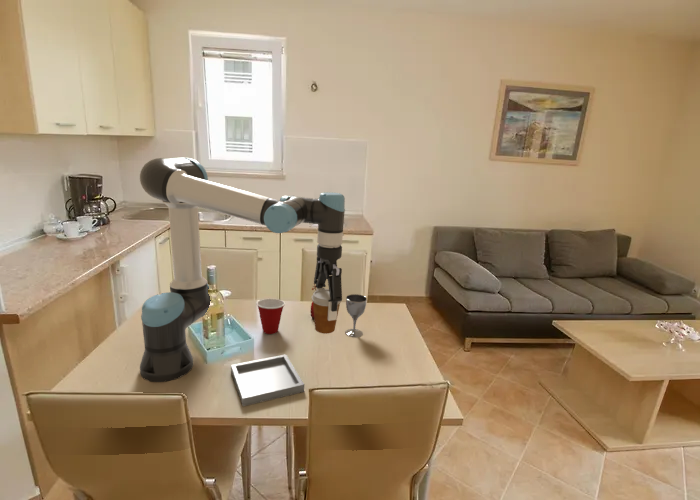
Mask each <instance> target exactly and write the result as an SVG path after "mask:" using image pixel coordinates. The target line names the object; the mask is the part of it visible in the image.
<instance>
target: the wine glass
mask: <svg viewBox="0 0 700 500" xmlns="http://www.w3.org/2000/svg"><path fill="white" fill-rule="evenodd" d="M345 298H346V299H345V306H346V307H345V308H346V312H347V313H348V315H349V316H350V317H351V318H352V323H353V327H352V328H350V329H346V330H345V331H344V332H345V335H346V336H347V337H350V338H360V337H362V336H363V335H364V332H363V331H362V330H360V329H357V328H356V325H357V321H358V319H359V318H360V317H362V315H363V314H364V313H365V310H366V307H367V302H368V299H367V297H366V296H365V295H362V294H360V293H352V294H348V295H347V296H346V297H345Z"/></svg>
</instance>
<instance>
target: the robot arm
mask: <svg viewBox="0 0 700 500" xmlns="http://www.w3.org/2000/svg"><path fill="white" fill-rule="evenodd" d="M208 177H209V176H208V173H207V171H206V169H205V167H204V166H203V165H202V164H201V163H200V162H199V161H198V160H196V159H193V158H191V157H183V156H179V157H160V158H159V157H158V158H153V159H150V160H149V161H147V162H146V163H145V164H144V165H143V166H142V168H141V170H140V174H139V182H140V185H141V187H142V189H143V190H144V191H145V193H147V194H148V195H149V196H151V197H152V198H154V199H156V200H160V201H162V203H163V204H164V205H165V206H167V208H168V217H169V218H168V219H169V229H170V230H169V231H170V241H171V253H172V254H171V255H172V267H173V269H172V270H173V279H172V281H171V282H169V290H170V291H168V292H161V293H160V294H155V295H152V296H150V297H149V298H148V299H146V300H145V301H144V303H142V306H141V316H140V317H141V321H142V323H141V325H142V331H143V343H144V350H143V354H142V358H141V361H140V364H139V371H140V376H141V378H143V379H144V380H146V381H149V382H153V383H155V382H156V383H157V382H158V383H161V382H163V383H164V382H170V381H174V380H176V379H179V378H181V377H184V376H186V375H187V374H189V372H191V370H192V368H193V367H194V357H193V354H192V353H191V350H190V348H189V346H188V343H187V335H186V334H187V333H186V329H187V328H189V327H190V326H191V325H193V324H194V323H196V322H197V321H198V320H199V319H201V318H202V317H204V316H205V315H206V314H207V313H208V312H207V310H208V308H209V305H210V301H211V300H210V296H209V294H208V289H209V286H210V285H209V284H208V280H207V279H206V278H205V277H204V276H203V273H202V255H201V253H202V252H201V238H200V220H199V208H203V209H204V210H209V211H212V212H216V213H219V214H223V215H227V216H229V217H233V218H234V217H235V218H237V219H241V220H245V221H248V222H251V223H255V224H259V225H262V226H266V228H267V229H268V230H269V231H271V232H272V233H275V234H283V233H287V232H289V231H291V230H292V229H293V228H295V227H297V226H298V225H300V224H303V223H305V224H311V225H312V224H315V225H317V226H318V228H317V237H316V238H317V241H316V242H317V243H318V244H317V245H316V266H315V272H314V277H313V285H314V284H315V286H316V291H317V290H321V289H326V287H327V286H326V282H327V285H328V289H329V293H330V300H328V301H329V305H328V321H331V320H338V316H337V308H338V301H341V302H342V300H343V291H342V285H343V284H342V274H343V273H342V272H343V271H342V270H343V269H342V267H338V262H337V261H338V260H339V259H341V258H342V252H343V246H342V245H343V239H344V238H343V237H344V236H345V235H344V225H345V224H344V223H345V222H344V221H345V212H346V208H345V202H346V201H345V199H346V198H345V196H344V195H343V194H342V193H341V192H331V191H330V192H329V191H327V192H325V191H324V192H321V193H320V194H319V197H318V198H313V197H305V196H295V195H283V196H281V197H280V199H276V198H270V197H268V196H265V195H262V194H258V193H253V192H250V191H246V190H243V189H238V188H235V187H233V186H228V185H224V184H221V183H217V182H213V181H210V180H209V178H208ZM208 285H209V286H208ZM206 312H207V313H206ZM205 313H206V314H205Z"/></svg>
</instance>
